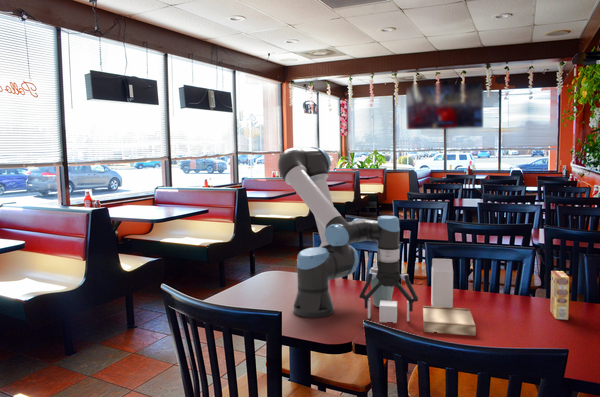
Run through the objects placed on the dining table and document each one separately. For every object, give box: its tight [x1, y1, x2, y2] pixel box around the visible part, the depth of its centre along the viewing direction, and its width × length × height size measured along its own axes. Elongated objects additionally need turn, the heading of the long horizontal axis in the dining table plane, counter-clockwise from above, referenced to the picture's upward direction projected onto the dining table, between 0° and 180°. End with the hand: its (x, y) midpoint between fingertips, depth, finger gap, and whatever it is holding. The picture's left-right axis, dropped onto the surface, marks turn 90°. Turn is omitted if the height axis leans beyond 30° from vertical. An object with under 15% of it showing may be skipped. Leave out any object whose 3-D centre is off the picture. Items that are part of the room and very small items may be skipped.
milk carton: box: [430, 258, 454, 308], centre depth 169 cm, size 7×7×19 cm
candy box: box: [550, 270, 570, 321], centre depth 159 cm, size 9×4×15 cm, turn 162°
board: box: [422, 305, 477, 337], centre depth 153 cm, size 16×16×3 cm
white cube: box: [378, 300, 398, 324], centre depth 159 cm, size 6×6×6 cm
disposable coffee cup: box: [368, 266, 395, 308], centre depth 174 cm, size 11×11×15 cm
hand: (388, 318), depth 159 cm, fingers open, 13 cm apart
